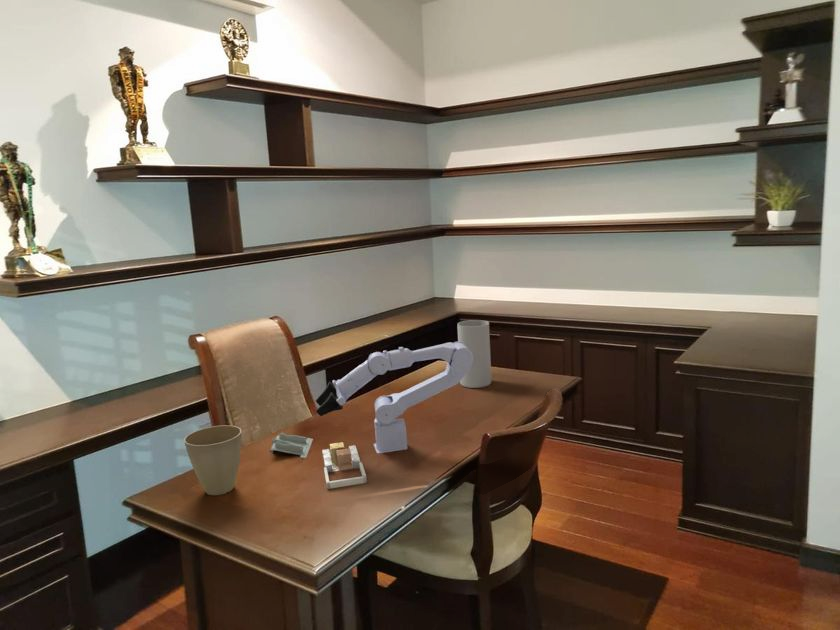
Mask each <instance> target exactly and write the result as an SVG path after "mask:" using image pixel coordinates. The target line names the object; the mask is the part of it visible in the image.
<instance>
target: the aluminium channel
mask: <svg viewBox="0 0 840 630" xmlns="http://www.w3.org/2000/svg"><path fill="white" fill-rule="evenodd" d="M348 448H350V451H351V458H352V467H346V468H339V469H338V465H337V461H334V462H332V460H331V453H330V448H327V449H322V451H321V452H322V459H323V464H324V467H327V472H328V473H332V472H333V473H334V472H341V471H346V470H347V471H348V470H353V469H360V468H359V462H361V458H360V455H359V453H358V450H357V447H356V445H354V444H353V445H348Z"/></svg>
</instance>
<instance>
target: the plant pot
mask: <svg viewBox="0 0 840 630" xmlns="http://www.w3.org/2000/svg"><path fill="white" fill-rule="evenodd" d="M183 443H184V445H185V446H184V447H185V449H186V452H187V455H188V458H189V461H190V465H192V466H191V467H192V468H193V471H194V473H195V475H196V478H197V479H198V482H199V483H200V485H201V487H202V488H203V490H204V492H205V493H206V494H207V495H209V496H222V495H225V494H228V493H229V492H231V491H232V490H233V489H234V487H235V484H236V480H237V478H238V477H237V476H238V471H239V466H240V459H241V453H242V452H241V451H242V429H241V427H238V426H235V425H225V424H224V425H223V424H222V425H214V426H209V427H204V428H201V429H198V430H195V431H193V432H191V433H189V434H188V435H186V436H185V437H184V439H183ZM227 492H228V493H227Z"/></svg>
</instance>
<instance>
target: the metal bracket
mask: <svg viewBox="0 0 840 630" xmlns="http://www.w3.org/2000/svg"><path fill="white" fill-rule="evenodd" d="M313 440H314V439H313V438H310V437H306V436H301V435H295V434H293V435H292V434H289V435H287V434H286V433H284V432H281V433H279V434H278V435H277V436H276V437H275V438H272V439H271V448H269V452H272V454H273V453H274V452H275V451H276V452H277V451H278V452H282V453H287V454H292V455H298V456H300V459H306V458H307V457H308V453H309V451H310V449H311V446H312V443H313Z"/></svg>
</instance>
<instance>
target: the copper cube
mask: <svg viewBox="0 0 840 630" xmlns="http://www.w3.org/2000/svg"><path fill="white" fill-rule="evenodd" d="M336 457H337V465H338V469H339V468H346V467H352V458H351V451H350V448H349V447H348V448H344V449H341V450H336Z"/></svg>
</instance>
